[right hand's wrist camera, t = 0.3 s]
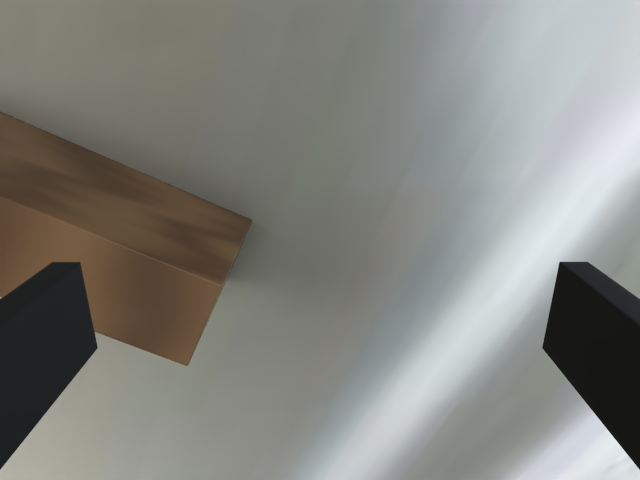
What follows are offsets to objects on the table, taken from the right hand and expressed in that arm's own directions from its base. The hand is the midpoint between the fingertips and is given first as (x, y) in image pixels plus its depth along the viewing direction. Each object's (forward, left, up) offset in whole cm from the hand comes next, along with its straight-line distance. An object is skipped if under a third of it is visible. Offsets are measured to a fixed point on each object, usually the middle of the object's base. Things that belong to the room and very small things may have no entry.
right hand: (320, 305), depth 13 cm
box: (-7, +18, -26) cm, 32 cm away
